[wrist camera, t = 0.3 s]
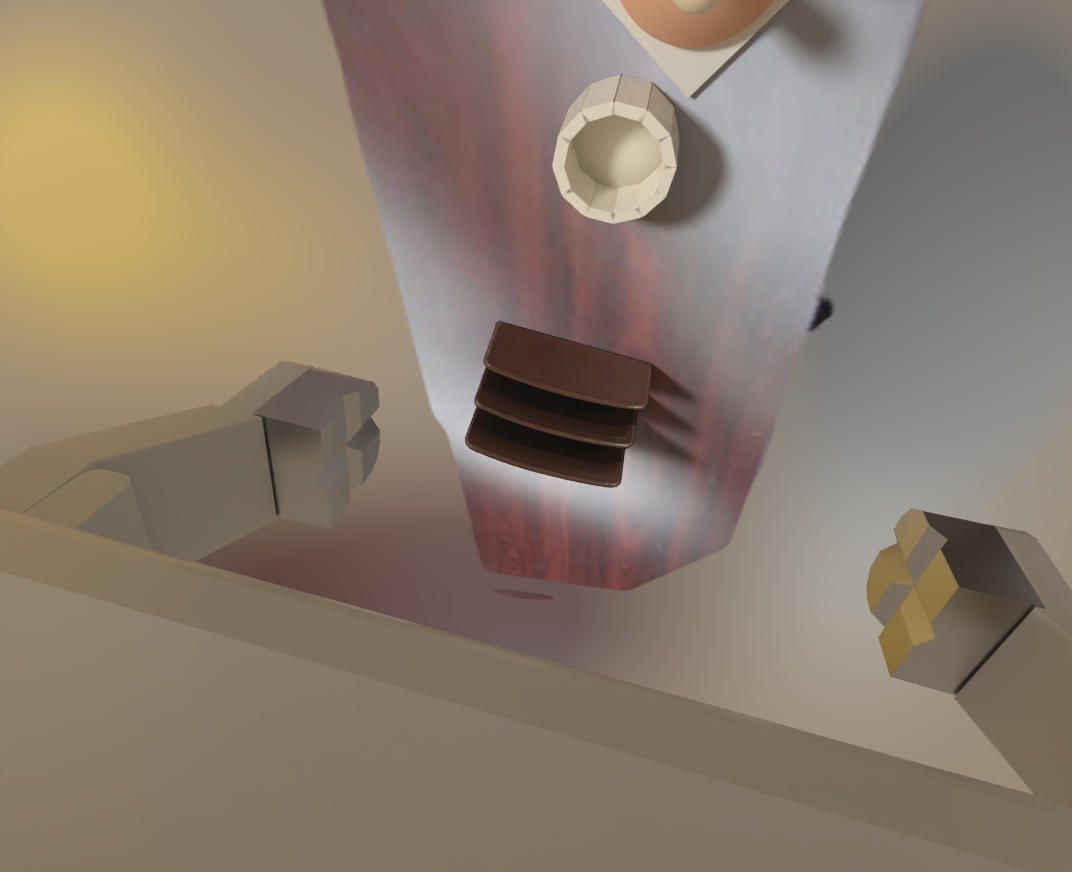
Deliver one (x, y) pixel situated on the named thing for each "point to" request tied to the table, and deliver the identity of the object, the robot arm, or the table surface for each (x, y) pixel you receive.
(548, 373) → the letter holder
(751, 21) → the salmon dome
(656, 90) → the bowl
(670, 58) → the mat
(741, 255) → the table surface
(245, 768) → the robot arm
